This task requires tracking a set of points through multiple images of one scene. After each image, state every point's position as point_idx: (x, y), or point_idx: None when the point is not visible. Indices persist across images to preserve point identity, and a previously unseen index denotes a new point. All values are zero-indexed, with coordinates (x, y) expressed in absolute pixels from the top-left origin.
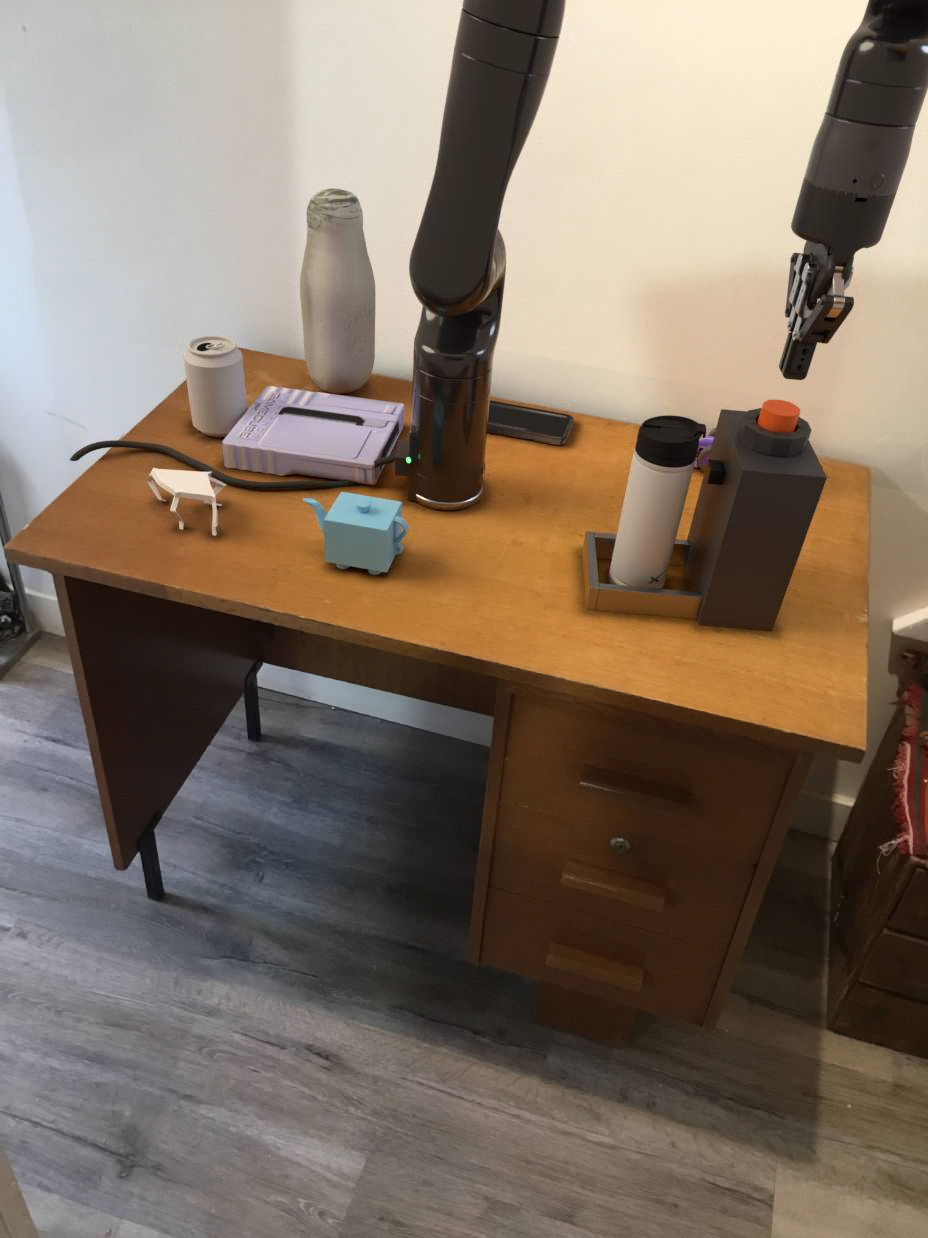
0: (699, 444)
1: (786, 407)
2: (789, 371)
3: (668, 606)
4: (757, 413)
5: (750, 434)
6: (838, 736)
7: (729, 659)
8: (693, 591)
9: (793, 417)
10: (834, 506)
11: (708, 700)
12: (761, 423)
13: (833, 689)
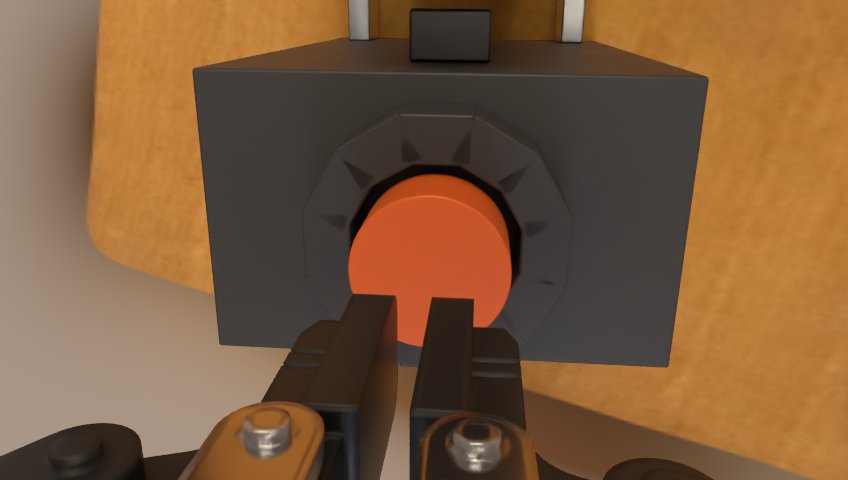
0: None
1: (430, 295)
2: (329, 327)
3: None
4: (510, 188)
5: (366, 129)
6: (96, 231)
7: None
8: None
9: None
10: (816, 428)
11: (125, 23)
12: (408, 182)
13: (207, 255)
